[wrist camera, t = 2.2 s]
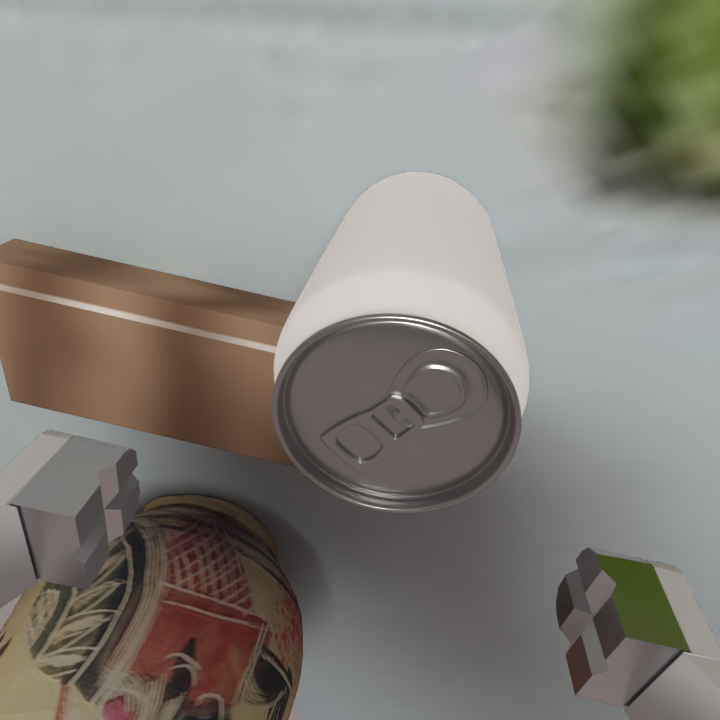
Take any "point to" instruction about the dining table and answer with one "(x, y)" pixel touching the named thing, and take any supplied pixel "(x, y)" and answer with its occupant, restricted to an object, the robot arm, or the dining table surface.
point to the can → (404, 353)
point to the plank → (140, 348)
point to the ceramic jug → (161, 626)
